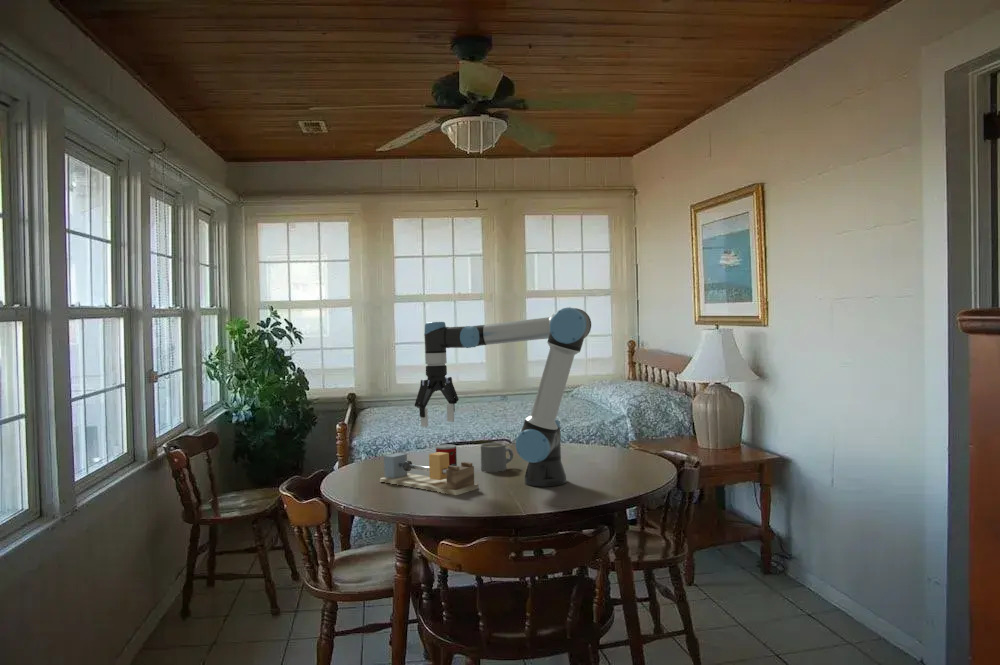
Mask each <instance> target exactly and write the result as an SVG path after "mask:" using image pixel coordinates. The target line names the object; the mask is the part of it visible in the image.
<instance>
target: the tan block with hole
mask: <svg viewBox="0 0 1000 665" xmlns="http://www.w3.org/2000/svg"><path fill="white" fill-rule="evenodd" d="M428 459H429V460H428V461H429V462H428V464H429V466H428V467H429V469H430V471H429V477H430V479H435V480H443V479H447V474H444V473H443V471H442V469H448V466H449V453H444V452H436V451H435V452H433V453H429V454H428Z"/></svg>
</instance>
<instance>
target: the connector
mask: <svg viewBox="0 0 1000 665" xmlns="http://www.w3.org/2000/svg"><path fill="white" fill-rule="evenodd" d="M407 459H408V455H407V453H402V452H395V453H391V454H387V455H383V466H384V467H383V468H384V472H383V473H384V477H387V478H393V479H394V478H398V477H402V476H406V475H407V473H408V471H405V470H404V468H403V467H399V463H404V462H405V461H408V460H407Z"/></svg>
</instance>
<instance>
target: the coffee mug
mask: <svg viewBox="0 0 1000 665" xmlns="http://www.w3.org/2000/svg"><path fill="white" fill-rule="evenodd" d="M507 452H508V453H509V456H508V457H507ZM513 459H514V452H513V449H512V448H511V447H506V443H503V442H485V443H481V444H480V469H481V470H482V472H483V471H486V472H485V473H499V472H498V471H502V472H505V471H507V464H508V463H511V462H512V460H513ZM504 470H505V471H504Z"/></svg>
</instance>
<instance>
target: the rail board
mask: <svg viewBox="0 0 1000 665" xmlns="http://www.w3.org/2000/svg"><path fill="white" fill-rule="evenodd" d="M446 472H447V478H446V479H443V480H435V479H430V475H429V476H428V475H423V474H417V473H416V474H415V473H410V472H407V475H406V476H402V477H398V478H394V479H393V478H387V477H385V476H384V477H380V478H379V483H381V482H385V483H384V484H386V483H391V484H390V485H392V484H397V485H396V486H398V485H404V486H410V487H416V488H421V489H426V490H425V491H427V490H432V491H431V492H433V491H437V492H436V493H439V492H441V494H445V493H446V495H451V496H458V495H462V494H465V493H468V492H471V491H475V490H477V489H478V490H479V484H478V483H475V466H474V465H473V462H468V461H467V462H466V461H462V462H461V464H460V466H458V465H457V466H452V465H450V466H448V470H446ZM404 486H403V487H404ZM410 487H409V488H410ZM416 488H415V489H416ZM421 489H420V490H421Z"/></svg>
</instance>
